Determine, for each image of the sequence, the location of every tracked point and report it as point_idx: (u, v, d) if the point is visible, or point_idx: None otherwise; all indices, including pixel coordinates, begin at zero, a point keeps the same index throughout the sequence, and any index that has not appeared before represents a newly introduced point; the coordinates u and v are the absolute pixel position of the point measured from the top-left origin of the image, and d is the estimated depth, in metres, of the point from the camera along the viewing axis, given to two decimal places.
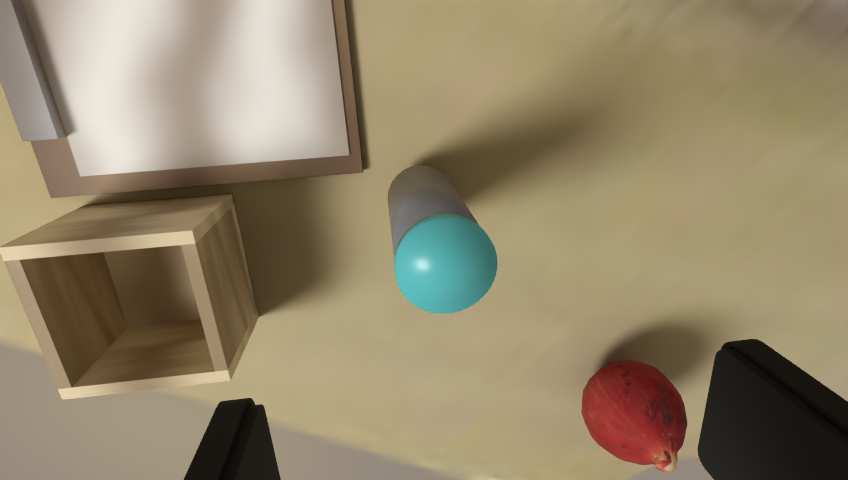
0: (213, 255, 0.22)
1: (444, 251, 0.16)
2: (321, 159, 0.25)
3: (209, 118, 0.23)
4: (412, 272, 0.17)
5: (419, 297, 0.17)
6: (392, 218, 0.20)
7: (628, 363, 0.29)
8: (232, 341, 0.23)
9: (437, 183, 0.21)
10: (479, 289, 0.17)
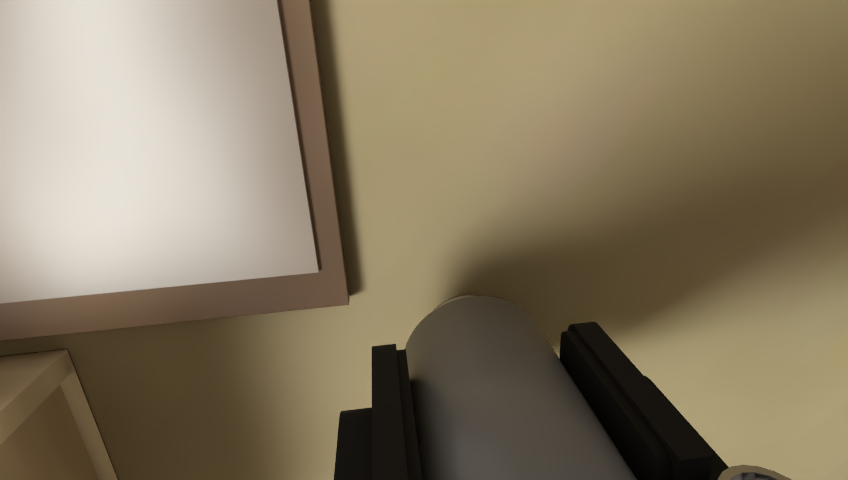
0: None
1: None
2: (257, 281, 0.11)
3: None
4: None
5: None
6: None
7: None
8: None
9: (551, 408, 0.07)
10: None
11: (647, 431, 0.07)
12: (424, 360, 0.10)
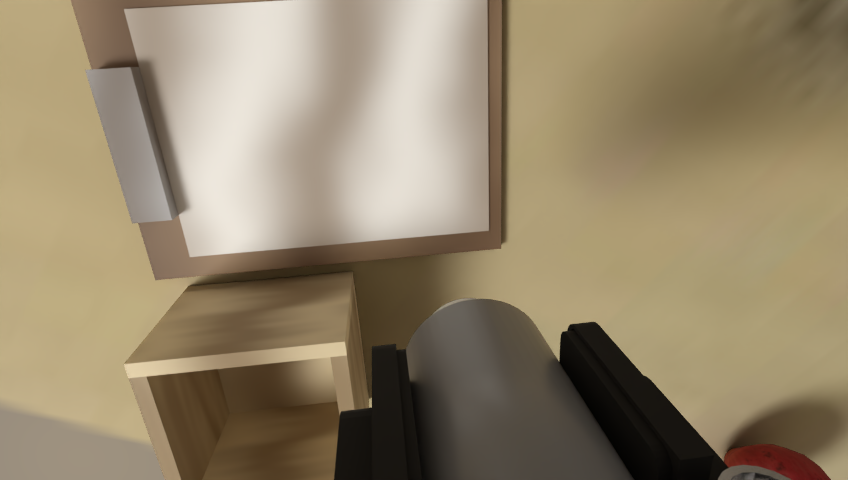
0: (352, 357, 0.19)
1: None
2: (457, 235, 0.22)
3: (338, 193, 0.20)
4: None
5: None
6: None
7: (777, 451, 0.26)
8: None
9: (551, 412, 0.07)
10: None
11: (647, 431, 0.07)
12: (424, 363, 0.10)
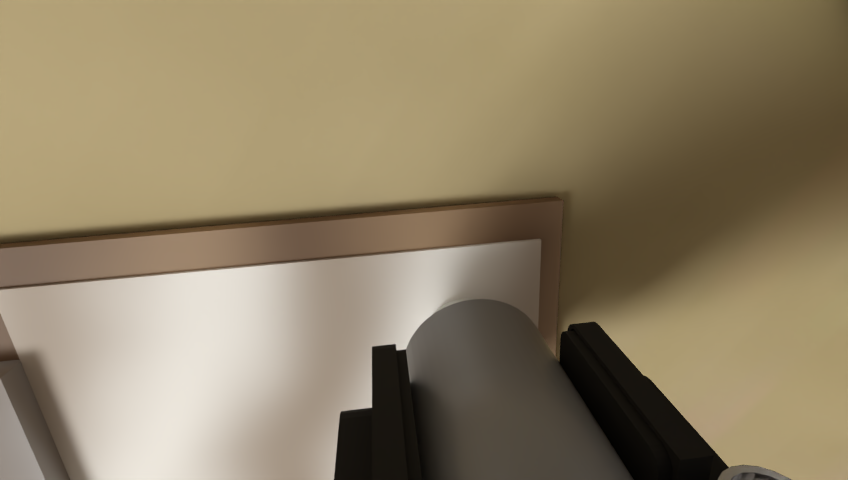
0: None
1: None
2: None
3: None
4: None
5: None
6: None
7: None
8: None
9: (550, 412, 0.07)
10: None
11: (647, 431, 0.07)
12: (424, 363, 0.10)
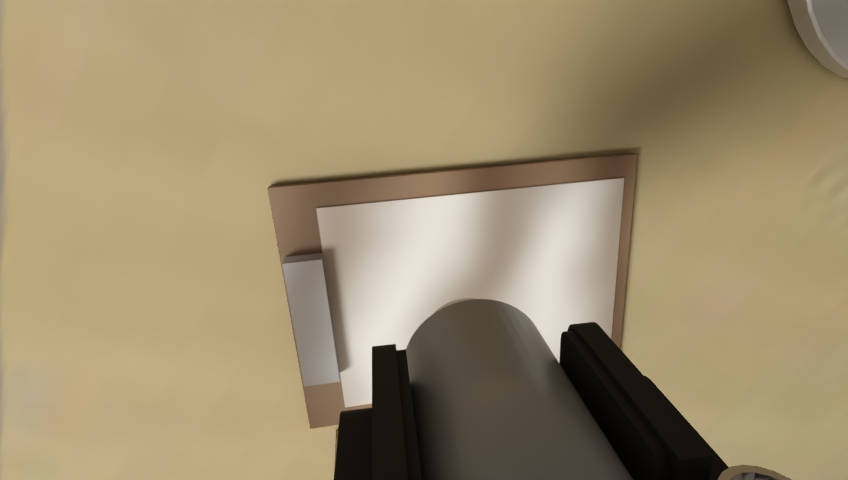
0: None
1: None
2: None
3: None
4: None
5: None
6: None
7: None
8: None
9: (549, 411, 0.08)
10: None
11: (647, 431, 0.07)
12: (424, 363, 0.10)
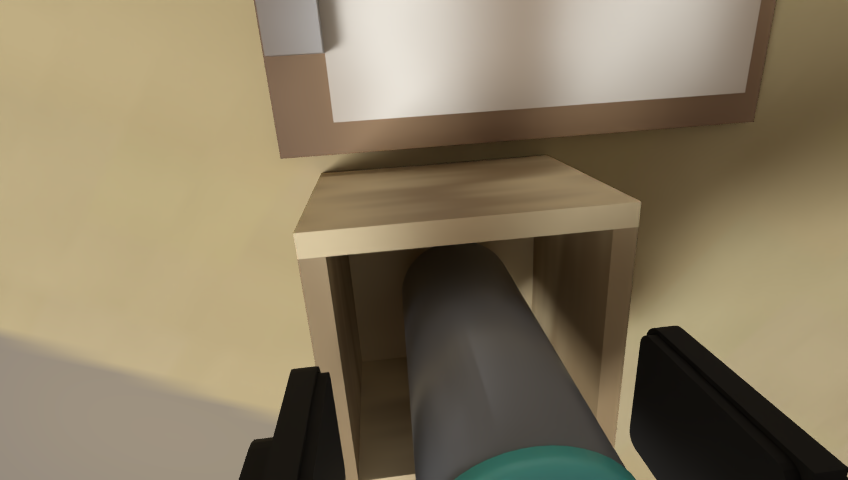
0: None
1: None
2: (700, 99, 0.15)
3: (553, 25, 0.14)
4: None
5: None
6: (411, 370, 0.11)
7: None
8: None
9: (496, 298, 0.11)
10: None
11: (767, 442, 0.07)
12: (416, 281, 0.14)
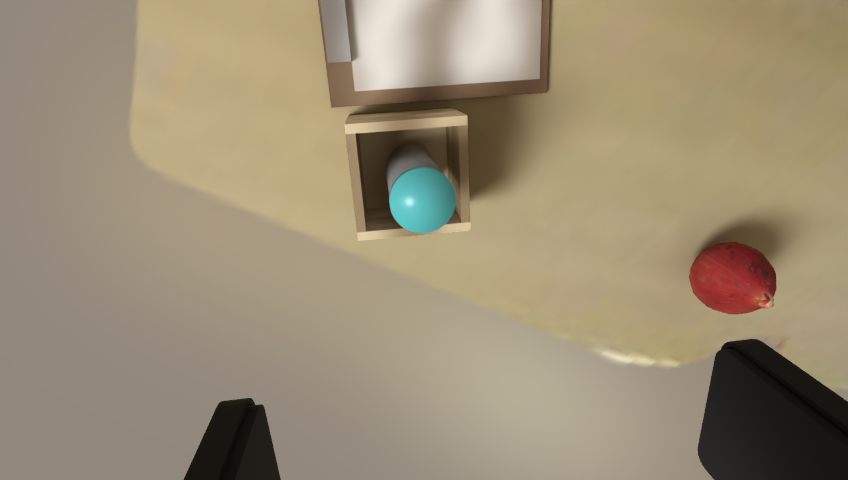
0: None
1: (421, 190, 0.25)
2: (519, 81, 0.34)
3: (449, 49, 0.33)
4: (401, 204, 0.26)
5: (405, 221, 0.26)
6: (388, 176, 0.29)
7: None
8: None
9: (420, 153, 0.30)
10: (445, 217, 0.26)
11: None
12: (391, 157, 0.32)
